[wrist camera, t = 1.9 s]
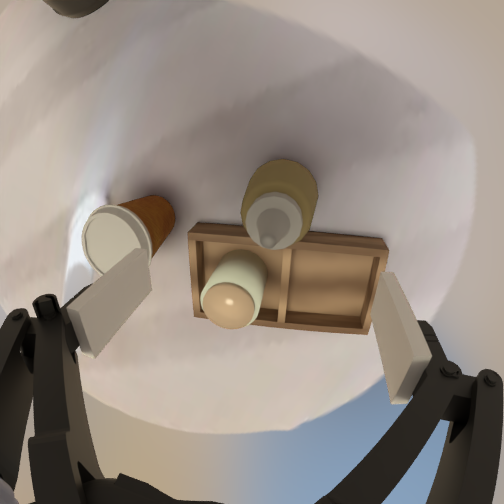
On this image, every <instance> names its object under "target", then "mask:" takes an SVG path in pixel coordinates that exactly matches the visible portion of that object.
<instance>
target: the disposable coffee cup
mask: <svg viewBox="0 0 504 504" xmlns="http://www.w3.org/2000/svg"><path fill="white" fill-rule="evenodd" d="M174 224H175V213H174V210H173V208H172V206H171V205H170V203H169V202H168V201H167V200H166V199H164V198H162V197H160V196H156V195H150V196H147V197H143V198H140V199H136V200H132V201H129V202H125V203H122V204H119V205H104V206H101V207H99V208H97V209H96V210H94V211H93V212H92V214H91V215H90V216H89V218H88V220H87V221H86V223H85V225H84V228H83V231H82V246H83V251H84V254H85V256H86V258H87V260H88V262H89V264H90V265H91V267H92V268H93V269H94V270H95V271H96V272H97V273H98V274H99V275H100V276H103V275H104V274H105V273H106V272H107V271H108V270H110V269H111V268H112V267H113V266H114V265H116V264H117V263H118V262H119V261H120V260H122V259H123V258H124V257H125V256H126V255H128V254H129V253H130V252H131V251H133V250H134V249H135V248H141V249H147V256H148V264H149V266H150V263H151V259H152V257H153V256H154V254H155V253H156V252H157V250H158V249H159V247H160V246H161V244H162V243H163V242H164V240H165V239H166V237H167V236H168V235H169V233H170V232H171V231H172V229H173V227H174Z"/></svg>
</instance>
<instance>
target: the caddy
mask: <svg viewBox="0 0 504 504" xmlns="http://www.w3.org/2000/svg"><path fill="white" fill-rule="evenodd" d="M188 247H189V262H190V276H191V288H192V299H193V310H194V317H198V318H205V319H208V317H207V316H206V314H205V312H204V311H203V309H202V306H201V301H200V298H201V293H202V291H203V289H204V287H205V285H206V284H207V282H208V280H209V278H210V277H211V275H212V273H213V272H214V270H215V268H216V267H217V265H218V263H219V262H220V260H221V258H222V257H223V256H224V255H225V254H226V253H228V252H230V251H233V250H238V249H243V250H248V251H251V252H253V253H255V254H257V255H258V256H259V257H260V258H261V259H262V260H263V261H264V263H265V265H266V267H267V272H268V276H267V281H266V285H265V289H264V293H263V297H262V301H261V305H260V309H259V313H258V315H257V317H256V319H255V320H254V321H253V322H252V323H251V324H249V325H258V326H266V327H276V328H285V329H295V330H306V331H318V332H331V333H345V334H362V335H368V332H369V329H370V325H371V322H372V319H371V315H370V313H371V309H372V306H373V302H374V298H375V294H376V290H377V286H378V281H379V277H380V273H381V272H385V268H386V264H387V259H388V254H389V249H388V247H387V246H386V244H385V242H384V241H383V239H382V238H374V237H364V236H354V235H344V234H334V233H324V232H313V231H308V232H307V233H306V235H305V236H304V237H303V238H302V240H300V241H298V242H297V243H295V244H293V245H291V246H289V247H286V248H284V249H278V250H271V249H267V248H263V247H261V246H260V245H258V244H257V243H255V242H254V241H253V240H252V238H251V237H250V235H249V234H248V233H247V231H246V229H245V228H244V226H242V225H228V224H215V223H200V222H198V223H197V224H196V225H195V226H194V227H193V228H192V229H191V230H190V231H189V232H188Z"/></svg>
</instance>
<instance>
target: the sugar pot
mask: <svg viewBox="0 0 504 504" xmlns="http://www.w3.org/2000/svg"><path fill="white" fill-rule="evenodd" d="M267 276H268V272H267V267H266V265H265V263H264V261H263V260H262V259H261V258H260V257H259V256H258V255H257V254H255V253H253V252H251V251H248V250H243V249H238V250H233V251H230V252H228V253H226V254H225V255H224V256H223V257H222V258H221V260H220V262H219V263H218V265H217V267H216V268H215V270H214V272H213V273H212V275H211V277H210V278H209V280H208V282H207V284H206V285H205V287H204V289H203V291H202V293H201V298H200V301H201V306H202V309H203V311H204V312H205V314H206V316H207V317H208V319H209V320H210V321H212V322H213V323H214V324H216V325H218V326H220V327H222V328H226V329H239V328H242V327H245V326H247V325H249V324H251V323H252V322H253V321H254V320H255V319H256V317H257V315H258V313H259V309H260V305H261V301H262V297H263V293H264V289H265V285H266V281H267Z"/></svg>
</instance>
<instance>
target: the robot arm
mask: <svg viewBox="0 0 504 504" xmlns="http://www.w3.org/2000/svg"><path fill="white" fill-rule="evenodd" d="M43 1H44V2H45V3H47V4H48V5H49V6H50V7H52V8H53V10H54V11H55V12H56V13H58V14H60V15H62V16H66V17H70V18H79V17H83V16H85V15H88V14H90V13H92V12H94V11H95V10H97V9H98V8H100V7H101V6H102V5H103V4H105V3H106V2H107V1H108V0H43ZM151 291H152V286H151V279H150V272H149V264H148V256H147V249H141V248H135V249H134V250H133V251H131V252H130V253H129V254H128V255H126V256H125V257H124V258H123V259H122V260H120V261H119V262H118V263H117V264H116V265H114V266H113V267H112V268H111V269H110V270H108V271H107V272H106V273H105V274H104V275H103V276H101V277H100V278H99V279H98V280H97V281H96V282H94V283H93V284H90V285H88V286H86V287H84V288H83V289H82V290H81V291H80V292H78V294H76V295H75V296H74V298H72V299H70V300H69V301H68V302H67V303H66V304H65V305H64V306H63V307H61V308H60V307H59V304H58V300H57V297H56V296H55V295H54V294H45V295H42V296H39V297H38V298H36V299H35V300H34V301H33V303H32V305H33V307H34V310H35V313H36V316H37V318H33V317H30V316H29V314H28V311H27V310H26V309H24V308H20V309H16V310H13V311H12V312H11V313H9V315H8V316H7V318H6V319H5V321H4V323H3V325H2V327H1V328H0V504H19V503H18V501H17V500H16V499H15V498H14V493H13V492H14V489H15V485H16V482H17V478H18V472H19V465H20V458H21V452H22V446H23V440H24V434H25V429H26V424H27V420H28V415H29V411H30V407H31V403H32V399H33V406H34V429H35V436H34V437H30V438H29V439H28V451H29V461H30V470H31V477H32V483H33V490H34V496H35V501H36V502H33V503H30V504H223V503H218V502H213V501H183V500H176V499H173V498H172V497H170V496H168V495H166V494H164V493H163V492H161V491H159V490H158V489H156V488H154V487H153V486H151V485H149V484H148V483H145V482H142V481H140V480H137V479H134V478H132V477H129V476H126V475H124V474H121V473H120V474H119V476H118V477H117V479H114V478H104V476H103V474H102V472H101V470H100V468H99V465H98V461H97V458H96V454H95V450H94V446H93V442H92V438H91V434H90V429H89V424H88V420H87V415H86V410H85V404H84V399H83V393H82V386H81V380H80V372H79V365H78V356H77V353H76V351H75V350H76V349H77V348H78V347H79V346H80V348H81V351H82V354H83V355H85V356H88V357H90V358H93V359H95V358H96V357H97V356H98V355H99V353H100V352H101V351H102V350H103V348H104V347H105V346H106V345H107V343H108V342H109V341H110V340H111V339H112V337H113V336H114V335H115V334H116V332H117V331H118V330H119V329H120V328H121V326H122V325H123V324H124V323H125V321H126V320H127V319H128V318H129V317H130V315H131V314H132V313H133V312H134V311H135V310H136V308H137V307H138V306H139V305H140V304H141V302H142V301H143V300H144V299H145V298H146V297H147V295H148V294H149V293H150V292H151ZM370 315H371V319H372V323H373V327H374V331H375V335H376V339H377V343H378V347H379V351H380V355H381V360H382V364H383V368H384V373H385V378H386V382H387V387H388V392H389V397H390V403H391V404H407V403H408V401H409V399H410V397H411V396H412V395H413V398H412V400H411V401H410V402H409V404H408V405H407V406H406V408H405V409H404V410H403V412H402V413H401V415H400V416H399V417H398V418H397V420H396V421H395V422H394V423H393V425H392V426H391V427H390V428H389V430H388V431H387V432H386V433H385V435H384V436H383V437H382V438H381V439H380V440H379V442H378V443H377V444H376V445H375V446H374V447H373V449H372V450H371V451H370V452H369V453H368V454H367V455H366V456H365V457H364V459H363V460H362V461H361V462H360V463H359V464H358V465H357V466H356V467H355V468H354V469H353V470H352V471H351V472H350V473H349V474H348V475H347V476H346V477H345V478H344V479H343V480H342V481H341V482H340V483H339V484H338V485H337V486H336V487H335V488H334V489H333V490H332V491H331V492H329V493H328V494H327V495H325V496H323V497H322V498H321V499H319V500H318V501H317V502H316V503H315V504H381V503H382V502H383V501H384V500H385V498H386V497H387V496H388V495H389V494H390V493H391V491H392V490H393V489H394V488H395V486H396V485H397V484H398V482H399V481H400V480H401V478H402V477H403V476H404V474H405V473H406V472H407V470H408V469H409V468H410V466H411V465H412V463H413V462H414V460H415V459H416V458H417V456H418V455H419V453H420V452H421V450H422V449H423V447H424V445H425V444H426V442H427V441H428V439H429V438H430V436H431V434H432V433H433V431H434V429H435V428H436V426H437V424H438V422H439V421H440V419H442V420H447V421H450V423H449V427H448V432H447V436H446V440H445V444H444V448H443V452H442V456H441V459H440V463H439V466H438V470H437V473H436V476H435V479H434V482H433V485H432V488H431V491H430V494H429V496H428V499H427V502H426V504H492V501H493V496H494V491H495V486H496V480H497V474H498V467H499V459H500V451H501V440H502V426H503V382H502V379H501V377H500V376H499V375H498V374H497V373H496V372H494V371H492V370H489V369H484V370H482V371H480V372H479V374H478V375H477V377H473V376H468V375H464V374H462V372H461V369H460V368H459V367H458V365H456V364H455V363H453V362H451V361H448V360H447V358H446V356H445V353H444V351H443V349H442V347H441V345H440V343H439V342H438V341H439V340H438V338H437V336H436V334H435V332H434V330H433V328H432V327H431V326H430V325H429V324H428V323H427V322H426V321H421V320H416V317H415V315H414V313H413V311H412V309H411V307H410V304H409V302H408V300H407V298H406V296H405V294H404V292H403V290H402V288H401V286H400V284H399V282H398V280H397V278H396V276H395V274H394V273H392V272H381V273H380V277H379V281H378V286H377V290H376V294H375V298H374V302H373V306H372V309H371V313H370ZM20 351H21V353H20Z"/></svg>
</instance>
